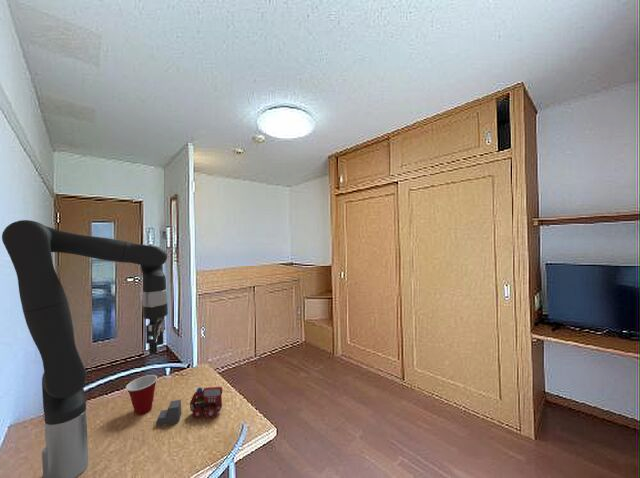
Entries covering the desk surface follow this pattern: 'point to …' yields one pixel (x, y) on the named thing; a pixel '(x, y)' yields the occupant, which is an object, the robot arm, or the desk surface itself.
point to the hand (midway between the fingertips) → (156, 348)
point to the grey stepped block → (170, 414)
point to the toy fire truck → (206, 402)
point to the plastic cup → (142, 393)
